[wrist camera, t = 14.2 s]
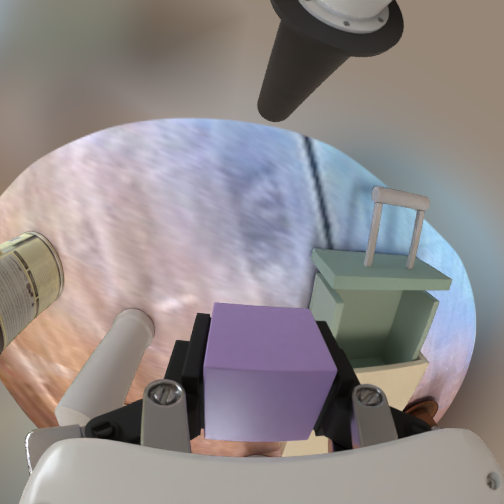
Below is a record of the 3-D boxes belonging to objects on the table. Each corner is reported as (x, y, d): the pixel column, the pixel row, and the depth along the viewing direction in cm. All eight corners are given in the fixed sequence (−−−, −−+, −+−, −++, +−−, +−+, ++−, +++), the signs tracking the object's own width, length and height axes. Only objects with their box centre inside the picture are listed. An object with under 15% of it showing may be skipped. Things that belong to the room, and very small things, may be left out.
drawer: (321, 177, 25) (349, 181, 18) (426, 196, 26) (468, 207, 19) (291, 360, 32) (302, 403, 25) (383, 355, 32) (406, 389, 26)
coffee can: (44, 314, 30) (-11, 371, 16) (6, 259, 27) (-57, 298, 13) (77, 278, 28) (8, 340, 15) (34, 214, 25) (-47, 246, 12)
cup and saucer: (443, 394, 39) (457, 413, 33) (411, 431, 42) (421, 450, 36) (407, 396, 37) (421, 419, 32) (373, 436, 41) (382, 458, 35)
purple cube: (213, 301, 11) (203, 366, 7) (309, 308, 11) (338, 369, 7) (211, 373, 12) (204, 439, 8) (293, 376, 12) (308, 440, 9)
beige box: (291, 324, 31) (308, 376, 22) (395, 322, 32) (429, 362, 23) (274, 408, 36) (281, 457, 27) (362, 401, 37) (380, 442, 28)
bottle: (139, 300, 29) (32, 493, 5) (164, 334, 31) (98, 531, 7) (110, 315, 30) (6, 480, 6) (133, 346, 31) (61, 517, 7)
